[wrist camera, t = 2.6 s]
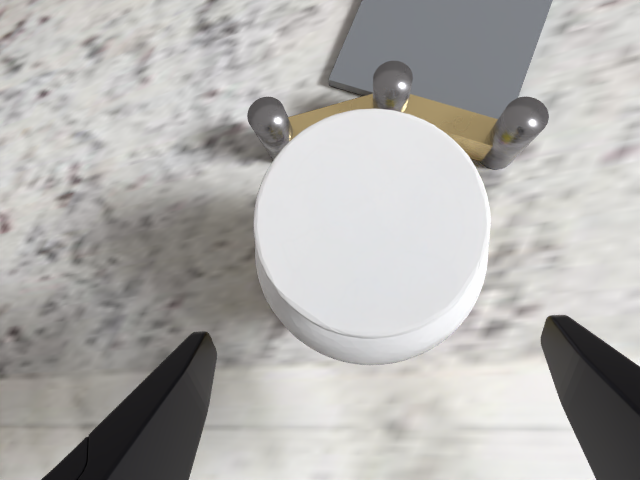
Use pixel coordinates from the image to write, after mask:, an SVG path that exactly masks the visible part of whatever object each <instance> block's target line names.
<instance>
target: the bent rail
mask: <svg viewBox="0 0 640 480" xmlns="http://www.w3.org/2000/svg"><path fill="white" fill-rule="evenodd" d="M412 81H413V74H412V71H411V69H410V68H409V67H408V66H407V65H406V64H405V63H403V62H400V61H388V62H385V63H383V64H381V65H380V66H379V67H378V68H377V69H376V71H375V73H374V75H373V94H370V95H366V96H363V97H359V98H355V99H352V100H348V101H345V102H341V103H338V104H334V105H331V106H327V107H323V108H320V109H316V110H313V111H309V112H306V113H302V114H298V115H295V116H291V117H288V116H287V114H286V112H285V109H284V107H283V105H282V103H281V102H280V101H279V100H277V99H276V98H273V97H263V98H260V99H258V100H256V101H255V102H254V103H253V104H252V105H251V106H250V108H249V110H248V115H247V116H248V122H249V124H250V126H251V127H252V129H253V130H254V132H255V133H256V135H257V136H258V138H259V139H260V141H261V142H262V144H263V145H264V147H265V148H266V150H267V151H268V153H269V154H270V156H271V157H272V159H273V160H274V159H275V157H276V156H277V155H278V154H279V152H280V151H281V150H282V149H283V148H284V147H285V146H286V145H287V144H288V143H289V142H290V141H291V140H292V139H293V138H294V137H296V136H297V135H298V134H299V133H300V132H301V131H303V130H304V129H306V128H308V127H309V126H311V125H313V124H315V123H317V122H319V121H321V120H322V119H324V118H327V117H330V116H332V115H335V114H339V113H343V112H347V111H352V110H357V109H385V110H394V111H398V112H402V113H406V114H410V115H413V116H415V117H418V118H420V119H423V120H425V121H427V122H429V123H431V124H433V125H435V126H436V127H438V128H439V129H440V130H442V131H443V132H445V133H446V134H447V135H449V136H450V137H451V138H452V139H453V140H454V141H455V142H456V143H457V144H458V145H459V146H460V147H461V148H462V149H463V150H464V151H465V152H466V153H467V155H468V156H469V157H470V159H474V160H477V161H480V162H482V164H483V165H485V166H486V167H488V168H490V169H502V168H505V167H506V166H508V165H509V164H510V163H511V162H512V161H513V160H514V159H515V158H516V157H517V156H518V155H519V154H520V153H521V152H522V151H523V150H524V149H525V148H526V147H527V145H528V144H529V143H530V142H531V141H532V140H533V139H534V138H535V137H536V136H537V135H538V134H539V133H540V132H541V131H542V130H543V129H544V128H545V127H546V125H547V123H548V118H549V115H548V111H547V108H546V107H545V105H544V104H543V103H542V102H540V101H539V100H537V99H535V98H532V97H520V98H517V99H515V100H513V101H511V102H510V103H509V104H508V105H507V107H506V108H505V110H504V111H503V113H502V114H501V116H500V117H499V119H495V118H492V117H488V116H485V115H482V114H478V113H475V112H471V111H468V110H464V109H461V108H457V107H454V106H450V105H447V104H443V103H440V102H436V101H433V100H430V99H426V98H423V97H419V96H416V95H412V94H410V92H411V86H412Z"/></svg>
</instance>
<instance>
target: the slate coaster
mask: <svg viewBox="0 0 640 480" xmlns="http://www.w3.org/2000/svg"><path fill="white" fill-rule="evenodd" d="M551 3H552V0H362V2H361V4H360V7H359V9H358V11H357V14H356V16H355V18H354V21H353V23H352V25H351V28H350V30H349V32H348V35H347V37H346V39H345V42H344V44H343V47H342V49H341V51H340V54H339V56H338V58H337V61H336V63H335V65H334V68H333V70H332V72H331V75H330V77H329V79H328V80H329V85H330V86H333V87H336V88H339V89H343V90H346V91H349V92H353V93H356V94H360V95H363V96H366V95H370V94H373V75H374V73H375V71H376V69H377V68H378V67H379V66H380V65H381V64H383V63H385V62H388V61H400V62H403V63H405V64H406V65H407V66H408V67H409V68H410V69H411V71H412V74H413V81H412V86H411V92H410V94H412V95H416V96H419V97H423V98H426V99H430V100H433V101H436V102H440V103H443V104H447V105H450V106H454V107H457V108H461V109H464V110H468V111H471V112H475V113H478V114H482V115H485V116H488V117H492V118H495V119H499V117H500V116H501V114H502V113H503V111H504V110H505V108H506V107H507V105H508V104H509V103H510V102H511V101H513V100H515V99H517V98H518V96H519V93H520V90H521V87H522V84H523V82H524V79H525V76H526V73H527V70H528V68H529V65H530V62H531V59H532V56H533V54H534V51H535V48H536V45H537V42H538V40H539V37H540V34H541V31H542V28H543V26H544V23H545V20H546V17H547V14H548V12H549V9H550V6H551Z"/></svg>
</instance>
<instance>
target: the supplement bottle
mask: <svg viewBox="0 0 640 480" xmlns="http://www.w3.org/2000/svg"><path fill="white" fill-rule="evenodd" d="M490 224H491V220H490V208H489V203H488V197H487V194H486V190H485V187H484V184H483V182H482V179H481V177H480V175H479V173H478V171H477V169H476V167H475V166H474V164H473V162H472V161H471V159H470V157H469V156H468V155H467V153H466V152H465V151H464V150H463V149H462V148H461V147H460V146H459V145H458V144H457V143H456V142H455V141H454V140H453V139H452V138H451V137H450V136H449V135H447V134H446V133H445V132H443V131H442V130H440V129H439V128H438V127H436V126H435V125H433V124H431V123H429V122H427V121H425V120H423V119H420V118H418V117H415V116H413V115H410V114H406V113H402V112H398V111H394V110H385V109H357V110H352V111H347V112H343V113H339V114H335V115H332V116H330V117H327V118H324V119H322V120H321V121H319V122H317V123H315V124H313V125H311V126H309V127H308V128H306V129H304V130H303V131H301V132H300V133H299V134H298V135H297V136H296V137H294V138H293V139H292V140H291V141H290V142H289V143H288V144H287V145H286V146H285V147H284V148H283V149H282V150H281V151H280V152H279V154H278V155H277V156H276V157H275V159H274V160H273V162H272V164H271V165H270V167H269V168H268V170H267V172H266V174H265V176H264V178H263V180H262V183H261V185H260V188H259V191H258V194H257V198H256V203H255V209H254V239H255V262H256V268H257V274H258V278H259V282H260V286H261V288H262V291H263V294H264V296H265V298H266V300H267V302H268V304H269V306H270V307H271V309H272V310H273V312H274V313H275V314H276V316H277V317H278V318H279V320H280V321H281V322H282V324H283V325H284V326H285V327H286V328H287V329H288V330H289V331H290V332H291V333H292V334H293V335H294V336H295V337H296V338H297V339H298V340H300V341H301V342H303V343H304V344H306V345H307V346H309V347H310V348H312V349H314V350H316V351H317V352H319V353H321V354H323V355H326V356H328V357H331V358H333V359H336V360H340V361H343V362H348V363H353V364H361V365H382V364H390V363H396V362H400V361H404V360H407V359H410V358H413V357H415V356H418V355H420V354H422V353H424V352H426V351H428V350H430V349H432V348H434V347H435V346H437V345H438V344H440V343H441V342H442V341H444V340H445V339H446V338H448V337H449V336H450V335H451V334H452V333H453V332H454V331H455V330H456V329H457V328H458V327H459V326H460V325H461V324H462V322H463V321H464V320H465V319H466V317H467V316H468V314H469V313H470V311H471V310H472V308H473V306H474V305H475V303H476V301H477V299H478V296H479V294H480V291H481V288H482V286H483V283H484V279H485V274H486V269H487V261H488V245H489V239H490Z"/></svg>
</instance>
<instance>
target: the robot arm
mask: <svg viewBox="0 0 640 480" xmlns="http://www.w3.org/2000/svg"><path fill="white" fill-rule="evenodd" d="M541 346H542V349H543V352H544V355H545V358H546V361H547V364H548V367H549V370H550V373H551V376H552V379H553V382H554V384H555V387H556V390H557V393H558V396H559V399H560V402H561V404H562V406H563V409H564V411H565V413H566V415H567V418H568V420H569V422H570V424H571V426H572V428H573V430H574V433H575V435H576V437H577V439H578V441H579V443H580V445H581V448H582V450H583V452H584V454H585V456H586V458H587V460H588V463H589V465H590V467H591V469H592V471H593V473H594V476H595V478H596V480H640V366H638V365H637V364H635V363H634V362H632V361H631V360H630V359H628V358H627V357H625V356H624V355H623V354H621V353H620V352H618V351H617V350H615V349H614V348H613V347H611V346H610V345H608V344H607V343H605V342H604V341H603V340H601V339H600V338H598V337H597V336H596V335H594V334H593V333H591V332H590V331H588V330H587V329H586V328H584V327H583V326H581V325H580V324H579V323H577V322H576V321H574V320H573V319H571V318H570V317H568V316H566V315H551V316H548V317H547V319H546V322H545V325H544V328H543V331H542V335H541ZM216 360H217V351H216V348H215V346H214V344H213V341H212V339H211V337H210V335H209V333H208V332H194V333H192V334H191V335H189V336H188V337H187V338H186V339H185V340H184V341H183V342H182V343H181V344H180V345H179V346H178V347H177V348H176V349H175V350H174V351H173V352H172V353H171V354H170V355H169V356H168V357H167V358H166V359H165V360H164V361H163V362H162V363H161V364H160V365H159V366H158V367H157V368H156V369H155V370H154V371H153V372H152V373H151V374H150V375H149V376H148V377H147V378H146V379H145V380H144V381H143V382H142V383H141V384H140V385H139V386H138V387H137V388H136V389H135V390H134V391H133V392H132V393H131V394H130V395H129V396H128V397H127V398H126V399H124V400H123V401H122V402H121V403H120V404H119V405H118V406H117V407H116V408H115V409H114V410H113V411H112V412H111V413H110V414H109V415H108V416H107V417H106V418H105V419H104V420H103V421H102V422H101V423H100V424H99V425H98V426H97V427H96V428H95V429H94V430H93V431H92V432H91V433H90V434H89V437H86V438H85V439H84V440H83V441H82V442H81V443H80V444H79V445H78V446H77V447H76V448H75V449H74V450H73V451H71V452H70V453H69V454H68V455H67V456H66V457H65V458H64V459H63V460H62V461H61V462H60V463H59V464H58V465H57V466H56V467H55V468H54V469H53V470H51V471H50V472H49V473H48V474H47V475H46V476H45V477H44V478H42V479H41V480H189V477H190V473H191V470H192V466H193V462H194V459H195V455H196V452H197V448H198V445H199V441H200V437H201V434H202V430H203V427H204V423H205V420H206V416H207V412H208V407H209V402H210V396H211V390H212V384H213V378H214V372H215V366H216Z"/></svg>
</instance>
